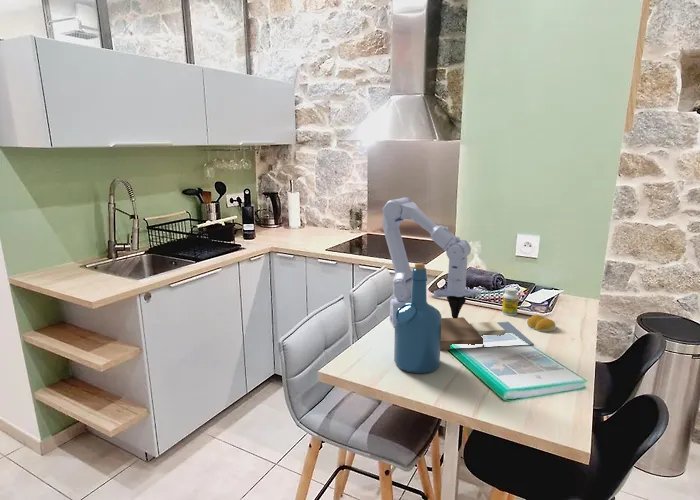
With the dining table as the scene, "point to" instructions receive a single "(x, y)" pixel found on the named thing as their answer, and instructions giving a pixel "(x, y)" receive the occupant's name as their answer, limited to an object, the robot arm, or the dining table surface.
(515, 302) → the supplement bottle
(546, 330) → the bread roll
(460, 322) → the board
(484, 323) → the tile
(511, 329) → the mat
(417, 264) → the wine bottle
